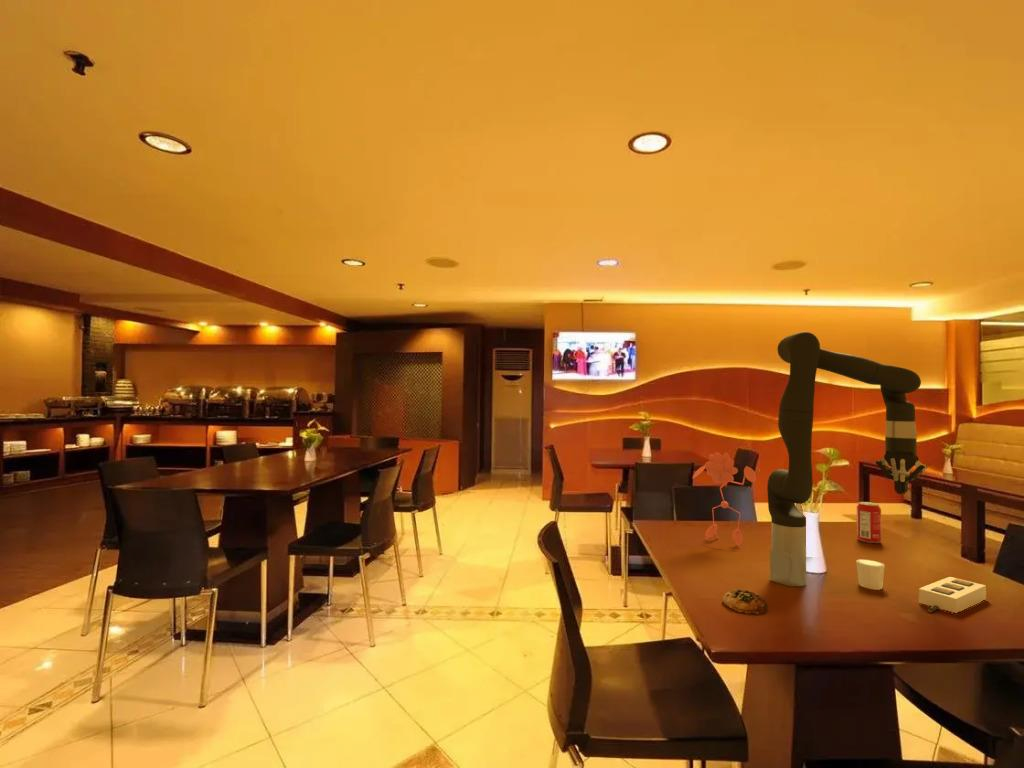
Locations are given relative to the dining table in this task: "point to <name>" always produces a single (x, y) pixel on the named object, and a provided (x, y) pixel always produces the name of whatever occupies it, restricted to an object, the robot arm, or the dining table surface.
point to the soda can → (869, 522)
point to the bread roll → (745, 601)
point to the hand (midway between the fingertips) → (901, 493)
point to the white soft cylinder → (870, 573)
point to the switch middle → (953, 586)
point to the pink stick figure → (723, 471)
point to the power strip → (952, 596)
